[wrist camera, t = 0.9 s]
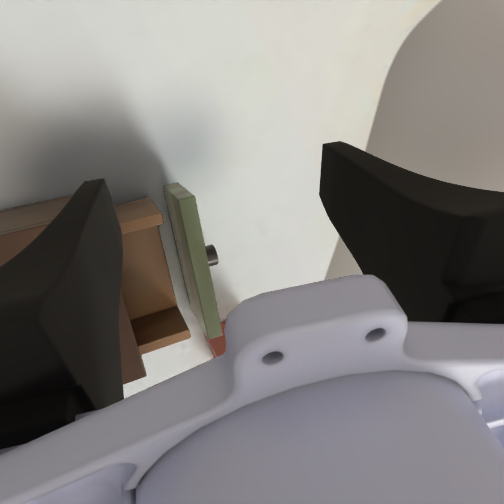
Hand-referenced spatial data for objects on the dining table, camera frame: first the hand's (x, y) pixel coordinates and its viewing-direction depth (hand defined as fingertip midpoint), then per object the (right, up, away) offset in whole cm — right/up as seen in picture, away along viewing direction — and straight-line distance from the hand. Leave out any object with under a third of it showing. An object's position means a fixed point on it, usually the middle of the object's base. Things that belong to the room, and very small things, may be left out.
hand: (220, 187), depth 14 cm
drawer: (-9, -3, +19) cm, 21 cm away
